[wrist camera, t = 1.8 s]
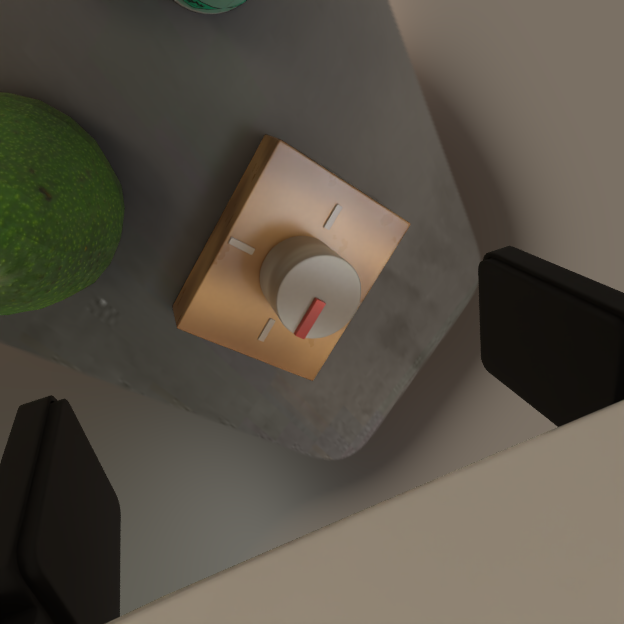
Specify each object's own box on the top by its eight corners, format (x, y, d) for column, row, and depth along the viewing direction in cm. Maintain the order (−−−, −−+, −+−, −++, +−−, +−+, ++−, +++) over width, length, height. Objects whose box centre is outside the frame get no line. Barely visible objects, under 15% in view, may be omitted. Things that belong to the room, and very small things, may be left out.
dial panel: (265, 133, 27) (280, 139, 24) (387, 212, 31) (413, 224, 28) (171, 306, 29) (176, 329, 26) (298, 358, 33) (313, 383, 31)
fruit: (155, 162, 26) (177, 217, 15) (76, 287, 27) (46, 416, 17) (-11, 52, 22) (-132, 25, 11) (-95, 204, 23) (-274, 304, 13)
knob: (285, 220, 26) (308, 240, 23) (350, 257, 28) (380, 280, 25) (244, 293, 27) (261, 322, 24) (310, 322, 29) (334, 353, 26)
